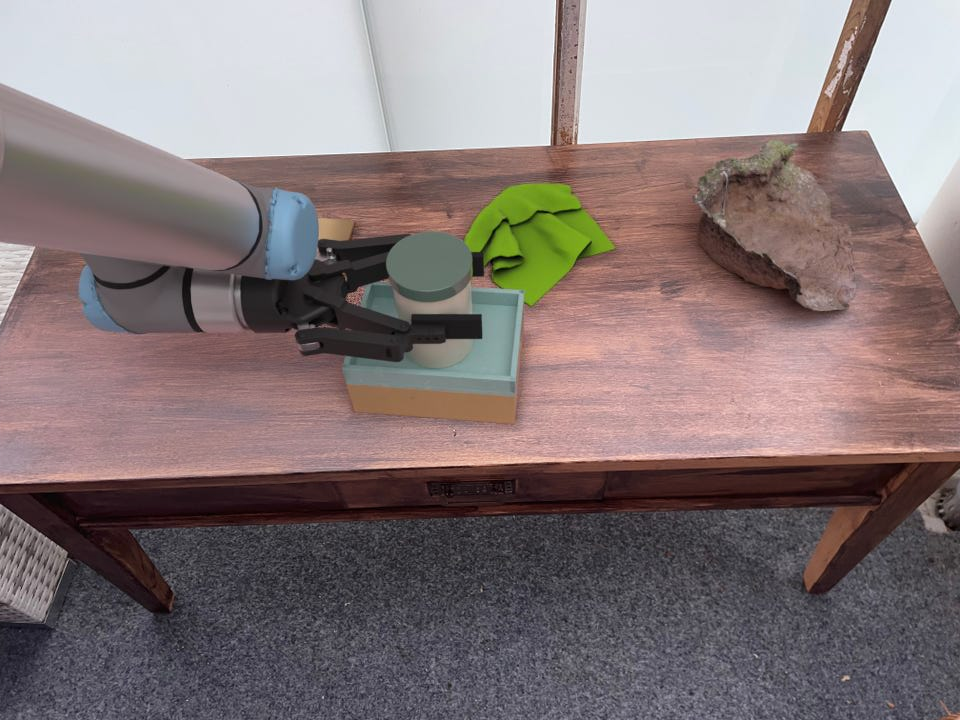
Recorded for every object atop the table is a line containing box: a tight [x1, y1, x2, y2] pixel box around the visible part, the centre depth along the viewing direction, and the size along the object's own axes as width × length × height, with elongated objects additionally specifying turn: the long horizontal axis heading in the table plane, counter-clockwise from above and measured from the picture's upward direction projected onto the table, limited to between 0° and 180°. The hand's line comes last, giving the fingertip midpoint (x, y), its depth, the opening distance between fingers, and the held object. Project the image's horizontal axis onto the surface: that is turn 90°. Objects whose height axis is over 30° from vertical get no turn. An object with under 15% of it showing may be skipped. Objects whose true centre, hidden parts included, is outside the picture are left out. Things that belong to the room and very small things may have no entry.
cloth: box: [462, 182, 617, 307], centre depth 92 cm, size 20×22×2 cm
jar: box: [386, 230, 474, 369], centre depth 71 cm, size 8×8×12 cm
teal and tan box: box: [341, 281, 525, 425], centre depth 77 cm, size 17×12×8 cm
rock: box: [692, 139, 858, 312], centre depth 87 cm, size 26×22×10 cm
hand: (482, 294), depth 70 cm, fingers closed on jar, 8 cm apart
